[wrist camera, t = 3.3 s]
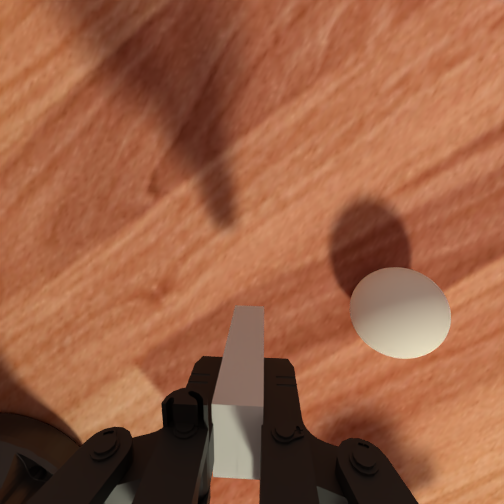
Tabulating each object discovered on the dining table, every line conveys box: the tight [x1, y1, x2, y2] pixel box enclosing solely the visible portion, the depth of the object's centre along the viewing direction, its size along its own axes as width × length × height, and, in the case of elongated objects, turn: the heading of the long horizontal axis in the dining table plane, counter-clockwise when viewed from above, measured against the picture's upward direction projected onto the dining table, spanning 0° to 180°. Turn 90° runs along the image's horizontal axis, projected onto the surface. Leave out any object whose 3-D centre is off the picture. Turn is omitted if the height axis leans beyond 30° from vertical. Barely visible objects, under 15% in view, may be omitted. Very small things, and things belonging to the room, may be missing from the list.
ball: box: [350, 267, 451, 359], centre depth 17 cm, size 6×6×6 cm
